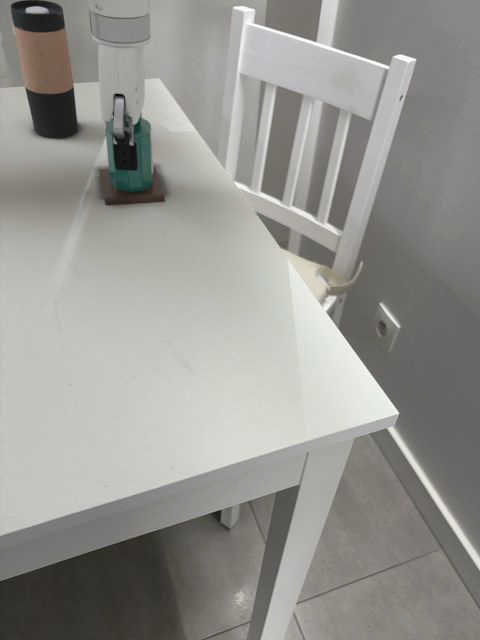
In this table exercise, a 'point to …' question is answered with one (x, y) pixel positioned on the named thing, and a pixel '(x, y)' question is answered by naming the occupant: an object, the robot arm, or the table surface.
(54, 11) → the travel mug
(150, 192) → the cup stand
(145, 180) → the cup
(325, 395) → the table surface
